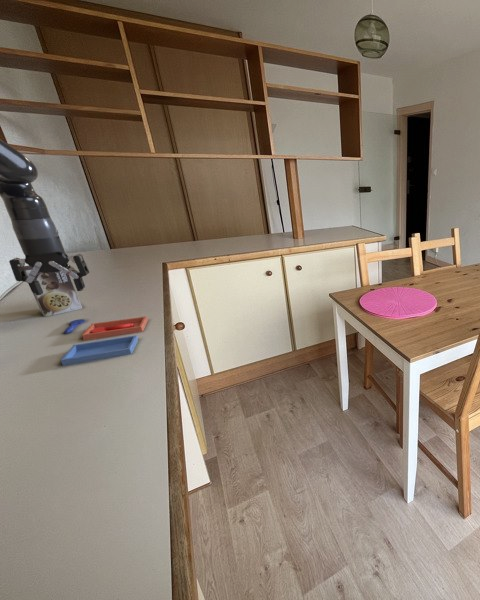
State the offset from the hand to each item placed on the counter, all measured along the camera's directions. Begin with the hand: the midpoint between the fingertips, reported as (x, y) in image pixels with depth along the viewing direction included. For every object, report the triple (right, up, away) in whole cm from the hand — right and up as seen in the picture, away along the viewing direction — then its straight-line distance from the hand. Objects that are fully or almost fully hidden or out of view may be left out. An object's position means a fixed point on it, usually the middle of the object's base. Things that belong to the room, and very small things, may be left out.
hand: (60, 292), depth 89 cm
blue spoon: (-2, -11, +5) cm, 12 cm away
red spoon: (+12, -11, +4) cm, 17 cm away
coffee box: (-17, -6, +16) cm, 24 cm away
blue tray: (+19, -16, -7) cm, 26 cm away
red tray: (+12, -12, +5) cm, 17 cm away
